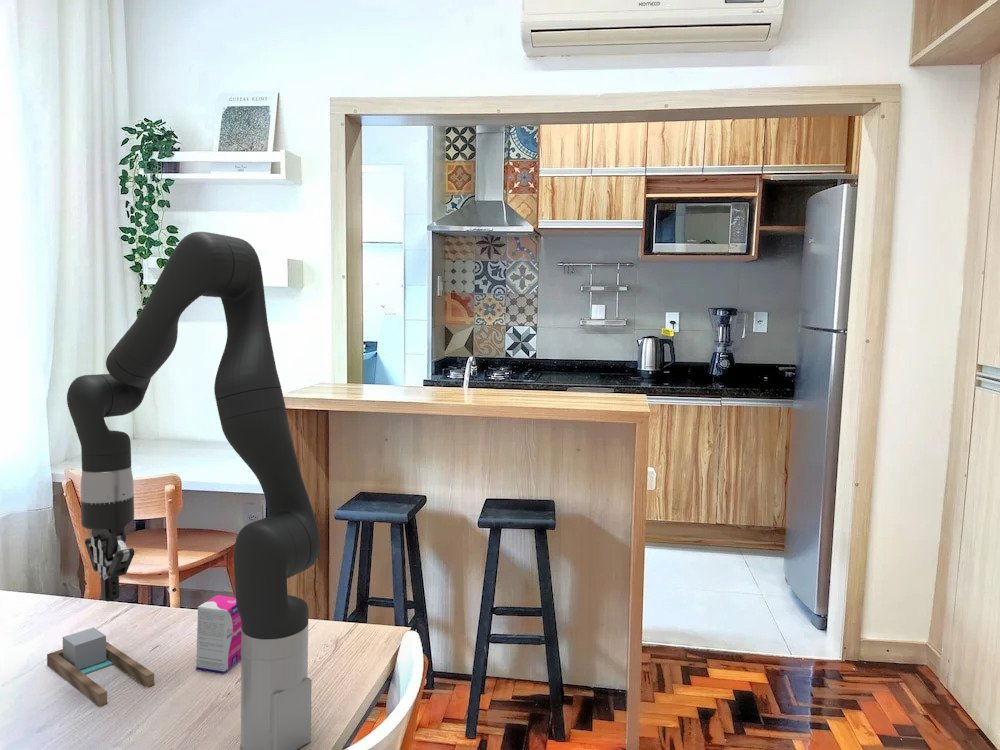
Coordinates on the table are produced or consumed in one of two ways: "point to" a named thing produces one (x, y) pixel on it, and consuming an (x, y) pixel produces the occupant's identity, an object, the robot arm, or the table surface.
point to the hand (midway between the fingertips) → (110, 599)
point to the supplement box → (218, 635)
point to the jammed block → (85, 648)
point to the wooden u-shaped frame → (84, 682)
